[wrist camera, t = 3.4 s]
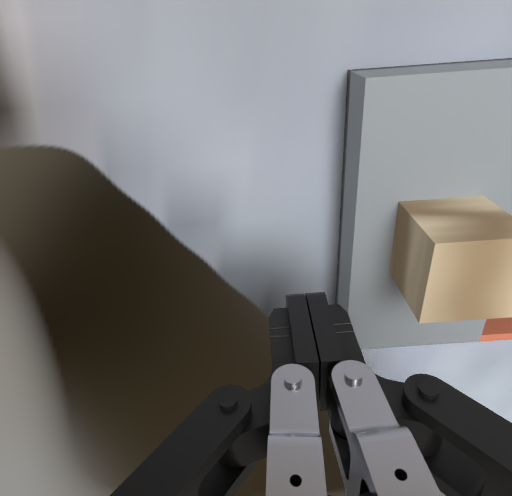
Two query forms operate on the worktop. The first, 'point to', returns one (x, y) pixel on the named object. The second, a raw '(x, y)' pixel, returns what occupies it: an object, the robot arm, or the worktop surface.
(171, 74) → the worktop surface
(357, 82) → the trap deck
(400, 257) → the maple block
